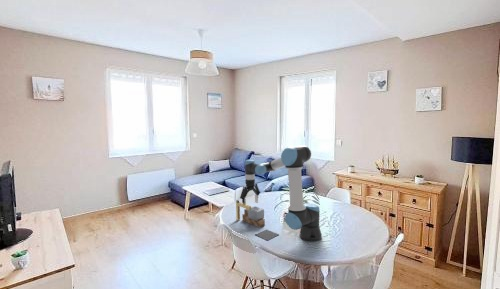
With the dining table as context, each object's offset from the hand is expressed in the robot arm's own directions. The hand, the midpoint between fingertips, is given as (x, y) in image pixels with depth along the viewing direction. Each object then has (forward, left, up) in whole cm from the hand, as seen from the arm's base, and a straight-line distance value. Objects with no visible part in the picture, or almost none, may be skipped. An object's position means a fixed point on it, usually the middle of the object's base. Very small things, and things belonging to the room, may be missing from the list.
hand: (250, 204), depth 216 cm
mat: (-28, +11, -13) cm, 33 cm away
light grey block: (-9, +3, -8) cm, 12 cm away
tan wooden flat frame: (0, +8, -12) cm, 15 cm away
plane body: (-6, +3, -13) cm, 14 cm away
